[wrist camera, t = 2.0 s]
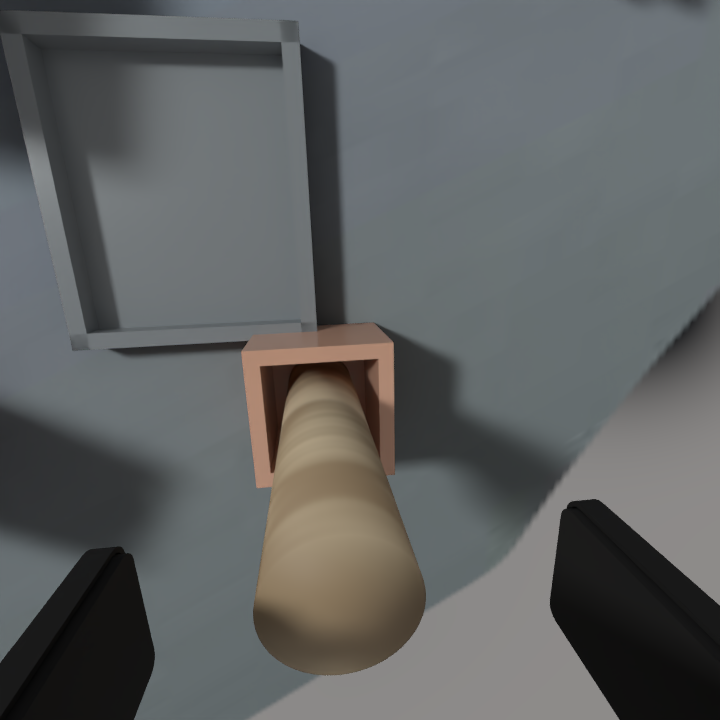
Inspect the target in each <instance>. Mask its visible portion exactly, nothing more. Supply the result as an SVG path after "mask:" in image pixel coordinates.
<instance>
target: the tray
mask: <svg viewBox="0 0 720 720" xmlns="http://www.w3.org/2000/svg"><path fill="white" fill-rule="evenodd" d="M0 36H1V40H2V45H3V49H4V53H5V58H6V62H7V66H8V71H9V75H10V79H11V84H12V88H13V92H14V97H15V101H16V106H17V110H18V114H19V119H20V123H21V127H22V132H23V136H24V140H25V145H26V149H27V153H28V158H29V162H30V167H31V171H32V175H33V180H34V184H35V188H36V193H37V197H38V201H39V206H40V210H41V214H42V219H43V223H44V228H45V232H46V236H47V241H48V245H49V249H50V254H51V258H52V262H53V267H54V271H55V276H56V280H57V284H58V289H59V293H60V297H61V302H62V306H63V310H64V315H65V319H66V323H67V328H68V332H69V337H70V341H71V345H72V350H73V351H76V350H94V349H112V348H129V347H147V346H165V345H183V344H200V343H218V342H236V341H249V340H250V338H251V337H252V336H253V335H259V334H277V333H296V332H314V331H317V319H316V303H315V287H314V270H313V254H312V237H311V221H310V204H309V188H308V171H307V155H306V138H305V122H304V106H303V89H302V73H301V56H300V40H299V23H298V21H289V20H262V19H235V18H208V17H181V16H154V15H127V14H100V13H73V12H46V11H19V10H0Z"/></svg>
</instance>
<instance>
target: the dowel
mask: <svg viewBox="0 0 720 720" xmlns="http://www.w3.org/2000/svg"><path fill="white" fill-rule="evenodd" d="M425 602H426V590H425V585H424V580H423V577H422V574H421V572H420V569H419V566H418V563H417V561H416V558H415V555H414V552H413V549H412V547H411V544H410V541H409V538H408V535H407V533H406V530H405V527H404V524H403V521H402V519H401V516H400V513H399V510H398V507H397V505H396V502H395V499H394V496H393V493H392V491H391V488H390V485H389V482H388V479H387V477H386V474H385V471H384V468H383V465H382V463H381V460H380V457H379V454H378V451H377V449H376V446H375V443H374V440H373V437H372V435H371V432H370V429H369V426H368V423H367V421H366V418H365V415H364V412H363V410H362V407H361V404H360V401H359V398H358V396H357V393H356V390H355V387H354V384H353V382H352V379H351V376H350V373H349V371H348V369H347V367H346V366H345V365H344V363H343V362H342V361H335V362H319V363H304V364H296V365H295V366H294V368H293V369H292V371H291V373H290V376H289V382H288V388H287V395H286V401H285V407H284V414H283V420H282V427H281V433H280V440H279V446H278V453H277V459H276V466H275V472H274V478H273V485H272V491H271V498H270V504H269V511H268V517H267V524H266V530H265V537H264V543H263V549H262V556H261V562H260V569H259V575H258V582H257V588H256V595H255V601H254V609H253V619H254V625H255V630H256V632H257V635H258V637H259V639H260V641H261V643H262V644H263V646H264V647H265V648H266V650H267V651H268V652H269V653H270V654H271V655H272V656H273V657H275V658H276V659H277V660H278V661H280V662H282V663H283V664H285V665H287V666H289V667H291V668H293V669H295V670H299V671H302V672H305V673H310V674H316V675H342V674H348V673H353V672H357V671H361V670H363V669H367V668H369V667H372V666H374V665H376V664H378V663H380V662H382V661H384V660H386V659H387V658H388V657H390V656H391V655H393V654H394V653H395V652H397V651H398V650H399V649H400V648H401V647H402V646H403V645H404V644H405V643H406V642H407V641H408V640H409V639H410V637H411V636H412V635H413V633H414V632H415V630H416V629H417V627H418V625H419V623H420V621H421V618H422V616H423V613H424V609H425Z"/></svg>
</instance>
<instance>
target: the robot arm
mask: <svg viewBox="0 0 720 720" xmlns="http://www.w3.org/2000/svg"><path fill="white" fill-rule="evenodd" d="M550 608H551V611H552V614H553V617H554V618H555V621H556V622H557V624H558V625H559V627H560V629H561V630H562V631H563V633H564V635H565V636H566V638H567V639H568V641H569V642H570V644H571V645H572V647H573V648H574V650H575V652H576V653H577V655H578V656H579V658H580V659H581V661H582V662H583V664H584V665H585V667H586V669H587V670H588V672H589V673H590V675H591V676H592V678H593V679H594V681H595V682H596V684H597V685H598V687H599V688H600V690H601V692H602V693H603V694H604V696H605V698H606V699H607V701H608V702H609V704H610V706H611V707H612V709H613V710H614V712H615V713H616V715H617V716H618V718H619V719H620V720H720V605H718V604H717V603H716V602H715V601H714V600H713V599H711V598H710V597H709V596H708V595H707V594H706V593H705V592H704V591H702V590H701V589H700V588H699V587H698V586H697V585H696V584H694V583H693V582H692V581H691V580H690V579H689V578H688V577H686V576H685V575H684V574H683V573H682V572H681V571H680V570H679V569H677V568H676V567H675V566H674V565H673V564H671V562H669V561H668V560H667V559H666V558H665V557H664V556H663V555H661V554H660V553H659V552H658V551H657V550H655V548H653V547H652V546H651V545H650V544H649V543H648V542H647V541H645V540H644V539H643V538H642V537H641V536H640V535H639V534H638V533H636V532H635V531H634V530H633V529H632V528H631V527H630V526H628V525H627V524H626V523H625V522H624V521H623V520H621V519H620V518H619V517H618V516H617V515H616V514H615V513H613V512H612V511H611V510H610V509H609V508H608V507H607V506H606V505H604V504H603V503H602V502H600V501H599V500H596V499H592V500H582V501H572V502H570V503H569V504H568V505H567V509H564V510H563V511H562V513H561V519H560V527H559V535H558V543H557V550H556V559H555V566H554V574H553V581H552V589H551V597H550ZM154 660H155V652H154V646H153V642H152V638H151V633H150V629H149V625H148V620H147V616H146V611H145V607H144V603H143V598H142V594H141V590H140V585H139V581H138V576H137V572H136V568H135V563H134V559H133V556H132V555H131V554H129V553H127V554H125V552H124V549H123V548H122V547H110V548H100V549H90V550H88V551H86V552H85V553H84V555H83V556H82V557H81V558H80V560H79V561H78V562H77V563H76V565H75V566H74V567H73V569H72V570H71V571H70V573H69V574H68V575H67V577H66V578H65V579H64V580H63V582H62V583H61V584H60V586H59V587H58V588H57V590H56V591H55V592H54V594H53V595H52V596H51V597H50V599H49V600H48V601H47V603H46V604H45V605H44V607H43V608H42V609H41V611H40V612H39V613H38V614H37V616H36V617H35V618H34V620H33V621H32V622H31V624H30V625H29V626H28V628H27V629H26V630H25V632H24V633H23V634H22V635H21V637H20V638H19V639H18V641H17V642H16V643H15V645H14V646H13V647H12V648H11V650H10V651H9V652H8V653H7V655H6V656H5V657H4V659H3V660H2V661H1V663H0V720H134V718H135V715H136V713H137V710H138V707H139V705H140V702H141V700H142V697H143V695H144V692H145V689H146V687H147V684H148V682H149V679H150V676H151V674H152V671H153V666H154Z"/></svg>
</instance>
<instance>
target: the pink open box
mask: <svg viewBox="0 0 720 720" xmlns="http://www.w3.org/2000/svg"><path fill="white" fill-rule="evenodd" d="M241 354H242V363H243V371H244V380H245V389H246V398H247V407H248V415H249V424H250V433H251V442H252V450H253V459H254V468H255V477H256V486H257V488H264V487H272V485H273V478H274V472H275V466H276V459H277V453H278V446H279V440H280V433H281V427H282V420H283V414H284V407H285V401H286V395H287V388H288V382H289V376H290V373H291V371H292V369H293V368H294V366H295V365H296V364H304V363H319V362H335V361H342V362H343V363H344V365H345V366H346V367H347V369H348V371H349V373H350V376H351V379H352V382H353V384H354V387H355V390H356V393H357V396H358V398H359V401H360V404H361V407H362V410H363V412H364V415H365V418H366V421H367V423H368V426H369V429H370V432H371V435H372V437H373V440H374V443H375V446H376V449H377V451H378V454H379V457H380V460H381V463H382V465H383V468H384V471H385V474H386V475H395V434H394V342H393V341H392V340H391V339H390V338H389V337H388V336H387V335H386V334H385V333H384V332H383V331H382V330H381V329H380V328H379V327H378V326H377V325H376V324H375V323H355V324H336V325H317V331H314V332H296V333H277V334H259V335H253V336H252V337H251V338H250V340H249V341H248V343H247V344H246V345H245V347H244V348H243V350H242V351H241Z"/></svg>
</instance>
